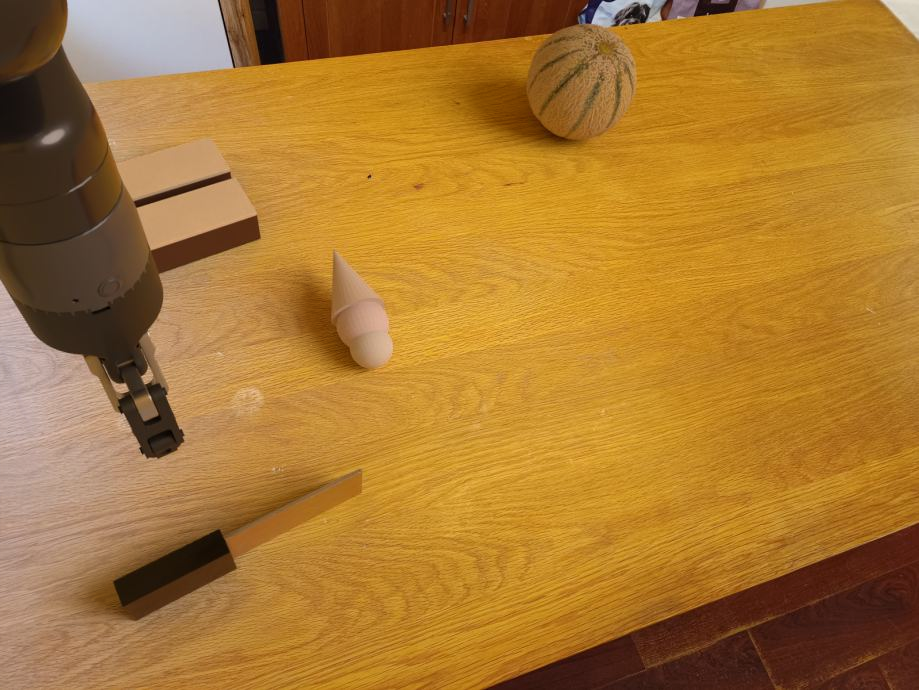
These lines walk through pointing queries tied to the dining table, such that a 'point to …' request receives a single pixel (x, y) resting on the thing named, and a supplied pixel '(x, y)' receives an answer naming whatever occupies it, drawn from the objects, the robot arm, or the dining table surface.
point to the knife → (222, 550)
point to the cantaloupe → (581, 81)
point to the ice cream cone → (359, 316)
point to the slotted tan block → (188, 203)
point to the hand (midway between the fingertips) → (143, 402)
